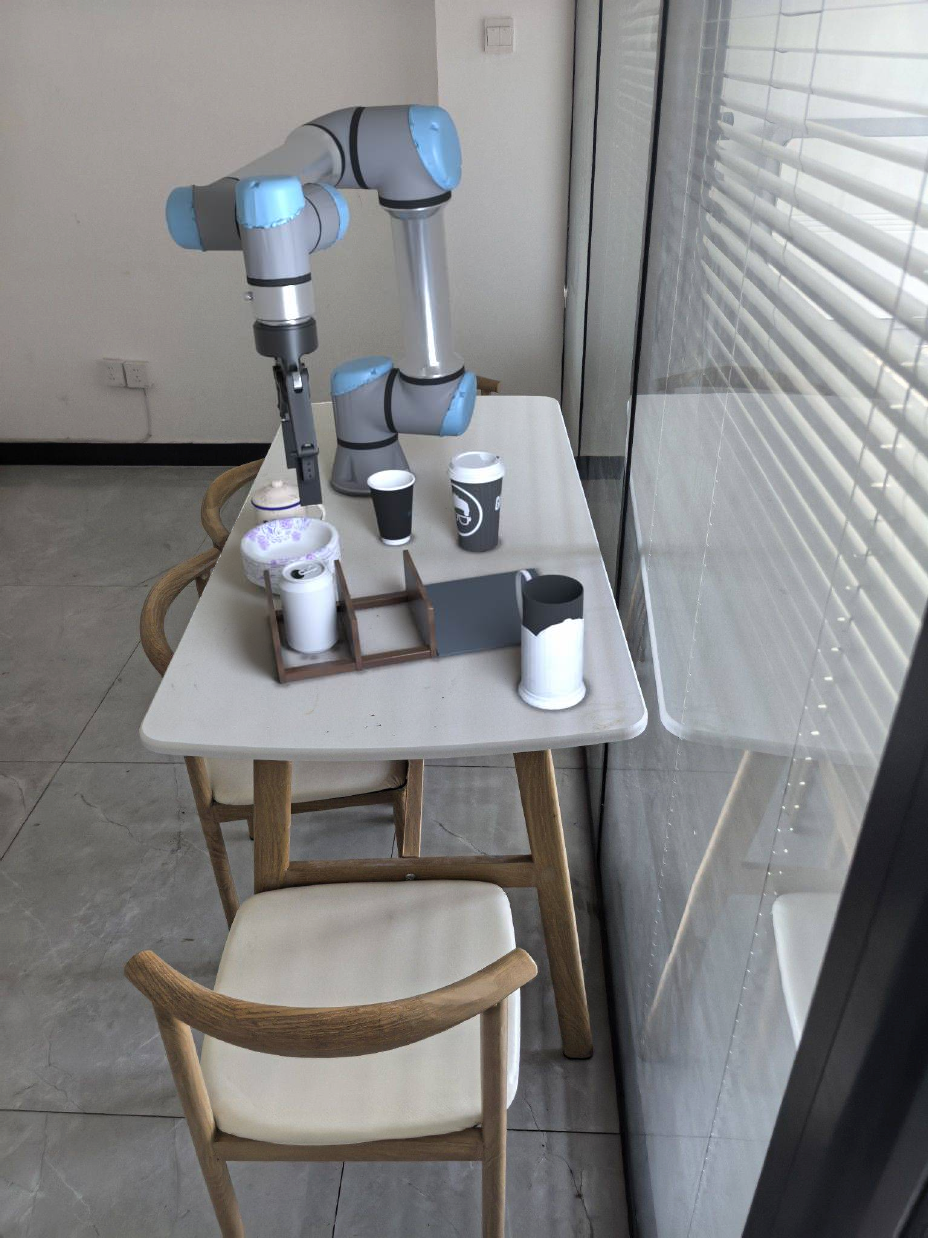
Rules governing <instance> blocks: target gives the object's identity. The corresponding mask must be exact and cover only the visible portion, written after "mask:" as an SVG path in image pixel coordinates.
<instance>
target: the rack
mask: <svg viewBox="0 0 928 1238" xmlns="http://www.w3.org/2000/svg"><path fill="white" fill-rule="evenodd" d="M402 558H403V559H402V560H403V573H404V584H405V585H404V586H405V590H399V591H392V592H387V593H379V594H374V595H368V596H361V597H353V598H351V594H350V592H349V591H350V590H349V588H348V585H347V581H346V577H345V574H344V571H343V567H342V565H341V564H342V563H341V564H340V561H339V559H338V560H334V566H335V572H334V573H335V582H336V591H337V597H338V600H336V607H337V614H341V618H342V621H343V625H344V628H345V632H346V636H347V640H348V643H349V647H350V651H351V654H352V655H351V656H352V657H347V658H346V657H345V658H340V659H334V660H329V661H328V660H327V661H322V662H316V663H309V664H304V665H297V666H291V667H287V668H285V663H284V658H283V651H282V645H281V638H280V633H279V632H280V631H279V626H278V623H282V622H283V623H284V617H283V611H282V609H276V606H275V601H274V595H273V594H274V593H272V588H271V582H270V576H269V570H263V574H264V581H265V588H266V589H265V588H264V589H265V595H266V601H267V608H268V614H269V622H270V628H271V635H272V641H273V646H274V654H275V659H276V665H277V671H278V678H279V682H280V684H286V683H289V682H294V681H301V680H307V679H312V678H313V679H314V678H318V677H319V678H320V677H324V676H325V677H326V676H330V675H331V676H332V675H338V674H343V673H349V672H354V671H357V672H358V671H359V672H361V671H363V670H367V669H372V668H377V667H384V666H391V665H396V664H397V665H398V664H402V663H408V662H415V661H420V660H427V659H436V658H437V657H438V654H437V651H436V639H435V623H434V608H433V606H432V604H431V601H430V599H429V597H428V594H427V592H426V590H425V588H424V585H425V584H424V583H423V581H422V579H421V576H420V574H419V572H418V570H417V567H416V565H415V563H414V561H413V558H412V556H411V554H410V551H409V550H408V549H403V550H402ZM406 603H408V604H409V607H410V609H411V612H412V614H413V616H414V619H415V622H416V624H417V627H418V630H419V632H420V634H421V637H422V639H423V642H424V645H420V646H413V647H407V648H401V649H397V650H396V649H394V650H389V651H383V652H377V653H370V654H365V655H362V651H361V642H360V633H359V623H358V618H357V615H356V611H359V610H366V609H373V608H380V607H385V606H392V605H398V604H406Z"/></svg>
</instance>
